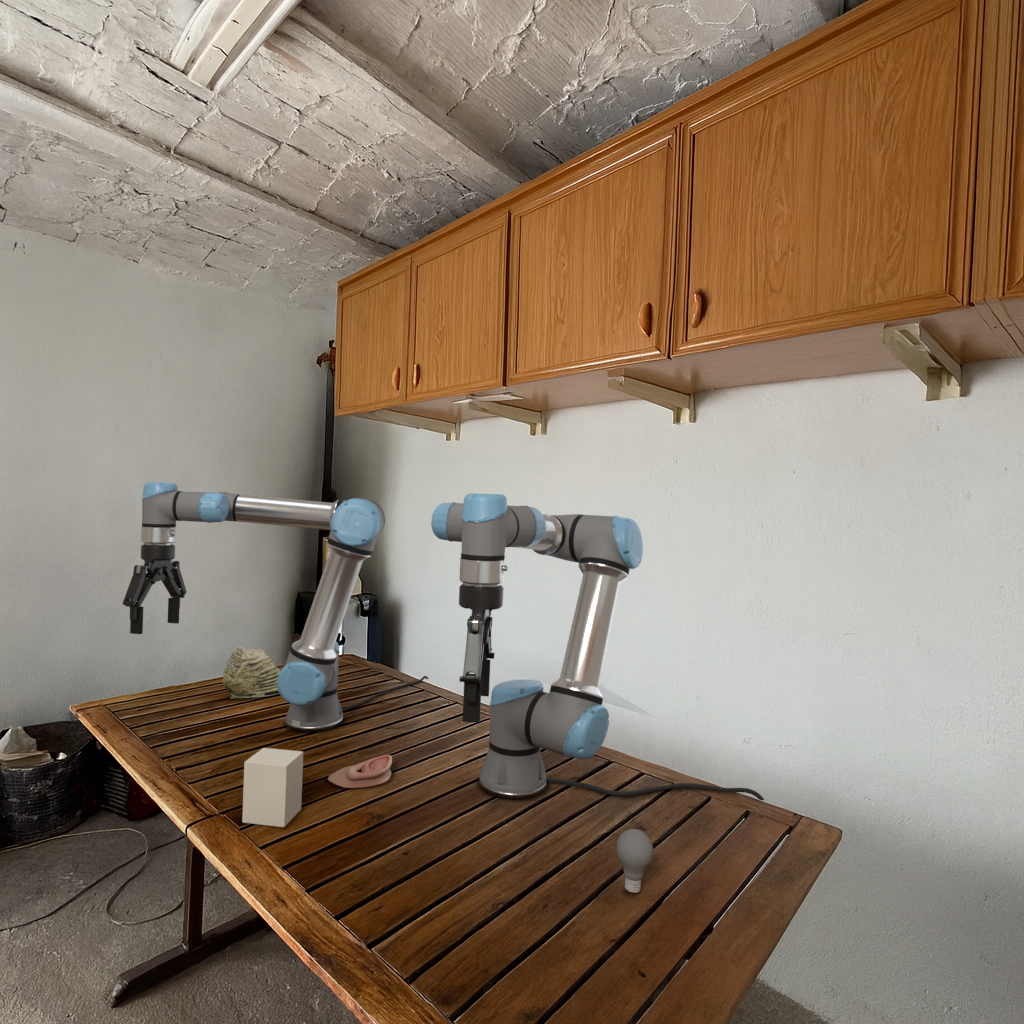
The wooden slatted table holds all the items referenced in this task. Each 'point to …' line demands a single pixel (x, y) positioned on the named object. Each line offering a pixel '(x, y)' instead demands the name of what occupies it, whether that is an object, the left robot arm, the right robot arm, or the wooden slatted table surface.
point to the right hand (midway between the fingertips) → (476, 707)
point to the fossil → (250, 674)
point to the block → (272, 787)
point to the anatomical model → (364, 773)
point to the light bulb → (634, 857)
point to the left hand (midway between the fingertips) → (155, 628)
